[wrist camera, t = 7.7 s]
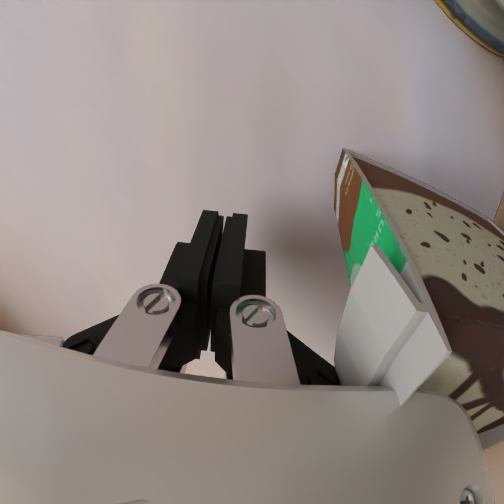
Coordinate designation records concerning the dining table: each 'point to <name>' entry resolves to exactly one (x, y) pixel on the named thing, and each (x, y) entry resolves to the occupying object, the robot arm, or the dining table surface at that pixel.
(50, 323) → the dining table surface
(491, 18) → the apothecary jar
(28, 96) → the dining table surface
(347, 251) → the food container
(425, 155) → the dining table surface
